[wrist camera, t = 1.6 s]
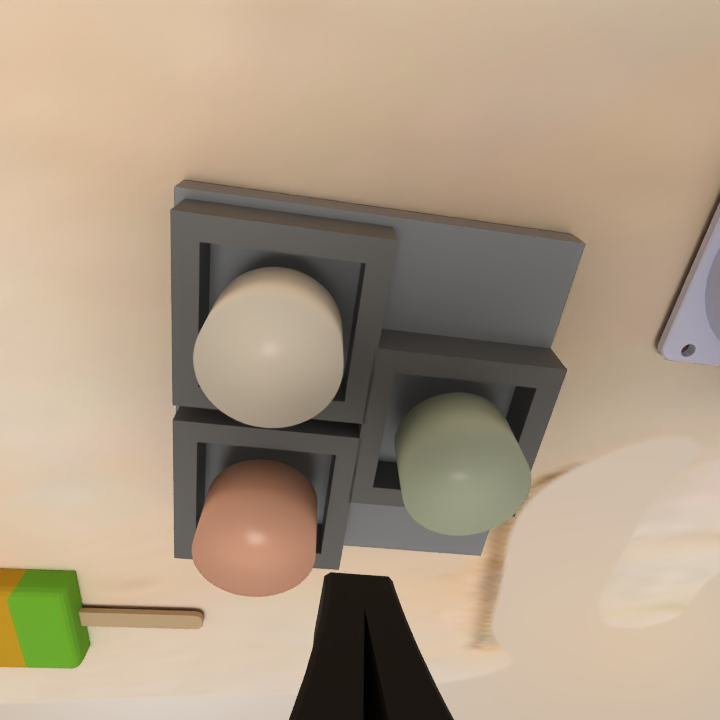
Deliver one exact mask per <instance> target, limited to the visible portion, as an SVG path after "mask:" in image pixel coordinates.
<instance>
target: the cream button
mask: <svg viewBox="0 0 720 720" xmlns="http://www.w3.org/2000/svg"><path fill="white" fill-rule="evenodd" d="M193 364H194V370H195V375H196V378H197V381H198V383H199V385H200V387H201V389H202V391H203V392H204V394H205V395H206V397H207V398H208V399H209V400H210V401H211V402H212V403H213V405H214V406H216V407H217V408H218V409H219V410H220V411H222V412H223V413H225V414H226V415H228V416H229V417H231V418H233V419H235V420H237V421H239V422H242V423H245V424H248V425H252V426H256V427H263V428H283V427H289V426H293V425H296V424H300V423H302V422H305V421H307V420H309V419H311V418H312V417H314V416H316V415H317V414H319V413H320V412H321V411H322V410H324V409H325V408H326V407H327V406H328V405H329V403H330V402H331V401H332V399H333V398H334V397H335V395H336V393H337V391H338V389H339V387H340V384H341V381H342V376H343V366H344V364H343V329H342V319H341V315H340V312H339V309H338V306H337V304H336V302H335V301H334V299H333V297H332V296H331V295H330V293H329V292H328V291H327V290H326V289H325V288H324V287H323V286H322V285H321V284H320V283H319V282H318V281H316V280H315V279H313V278H312V277H310V276H308V275H306V274H304V273H302V272H300V271H297V270H293V269H289V268H284V267H263V268H258V269H254V270H251V271H248V272H246V273H244V274H242V275H240V276H238V277H237V278H235V279H234V280H232V281H231V282H230V283H229V284H228V285H227V286H226V287H225V288H224V289H223V291H222V292H221V293H220V295H219V297H218V298H217V300H216V302H215V304H214V306H213V308H212V310H211V311H210V313H209V315H208V317H207V319H206V321H205V323H204V325H203V327H202V329H201V330H200V332H199V335H198V337H197V339H196V343H195V347H194V354H193Z"/></svg>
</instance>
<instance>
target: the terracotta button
mask: <svg viewBox="0 0 720 720" xmlns="http://www.w3.org/2000/svg"><path fill="white" fill-rule="evenodd" d="M317 509H318V500H317V495H316V491H315V489H314V487H313V485H312V484H311V482H310V481H309V480H308V479H307V478H306V477H305V476H304V475H303V474H302V473H301V472H299V471H298V470H296V469H295V468H293V467H291V466H289V465H287V464H284V463H281V462H277V461H273V460H264V459H256V460H247V461H243V462H239V463H236V464H234V465H231V466H229V467H228V468H226V469H224V470H223V471H222V472H221V473H219V474H218V475H217V476H216V477H215V479H214V480H213V482H212V483H211V485H210V487H209V490H208V493H207V497H206V500H205V503H204V506H203V510H202V513H201V516H200V520H199V523H198V526H197V529H196V533H195V536H194V539H193V543H192V557H193V561H194V563H195V566H196V568H197V569H198V571H199V572H200V573H201V574H202V576H203V577H204V578H205V579H207V580H208V581H209V582H210V583H212V584H213V585H215V586H216V587H218V588H220V589H222V590H225V591H227V592H230V593H233V594H237V595H242V596H250V597H262V596H270V595H275V594H279V593H282V592H285V591H288V590H290V589H292V588H294V587H295V586H297V585H298V584H300V583H301V582H302V581H303V580H304V579H305V578H306V577H307V576H308V575H309V573H310V572H311V570H312V568H313V566H314V562H315V556H316V533H317Z"/></svg>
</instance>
